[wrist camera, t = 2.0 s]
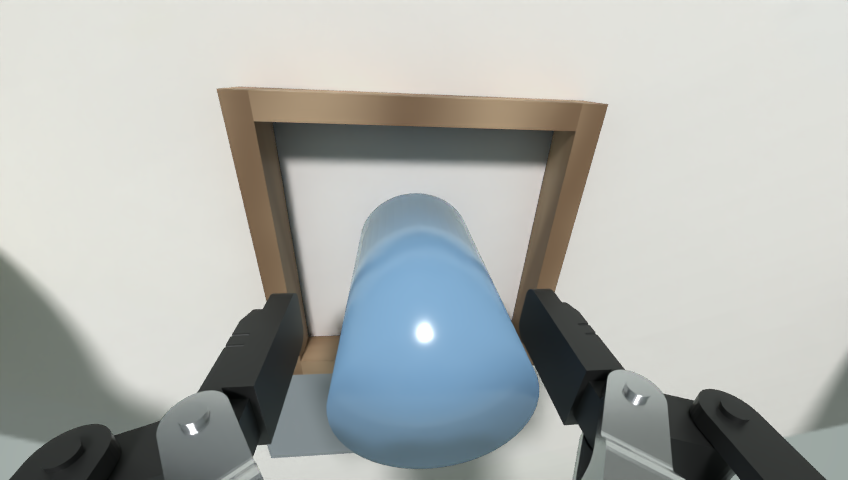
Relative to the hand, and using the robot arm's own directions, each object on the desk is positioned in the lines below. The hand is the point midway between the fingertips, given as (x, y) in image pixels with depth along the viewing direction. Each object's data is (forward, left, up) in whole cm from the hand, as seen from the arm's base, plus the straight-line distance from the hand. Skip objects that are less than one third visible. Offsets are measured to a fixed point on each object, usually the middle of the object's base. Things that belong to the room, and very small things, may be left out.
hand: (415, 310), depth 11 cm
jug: (0, +2, -5) cm, 6 cm away
